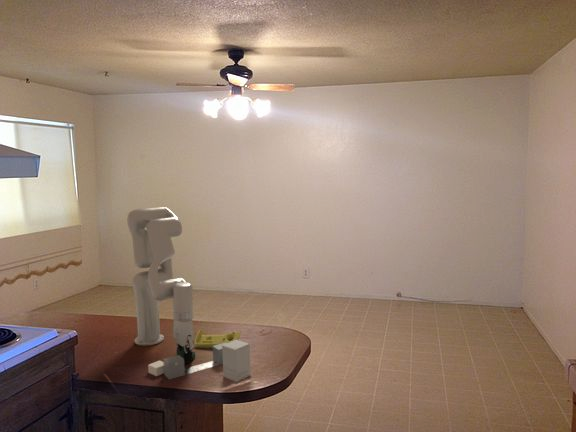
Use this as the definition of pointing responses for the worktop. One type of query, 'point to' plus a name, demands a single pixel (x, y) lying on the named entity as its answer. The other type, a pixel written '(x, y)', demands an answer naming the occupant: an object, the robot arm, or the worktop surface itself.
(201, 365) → the rail
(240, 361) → the supplement box
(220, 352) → the block
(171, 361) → the block
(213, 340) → the plastic component
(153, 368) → the block
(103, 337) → the worktop surface
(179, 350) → the mount
